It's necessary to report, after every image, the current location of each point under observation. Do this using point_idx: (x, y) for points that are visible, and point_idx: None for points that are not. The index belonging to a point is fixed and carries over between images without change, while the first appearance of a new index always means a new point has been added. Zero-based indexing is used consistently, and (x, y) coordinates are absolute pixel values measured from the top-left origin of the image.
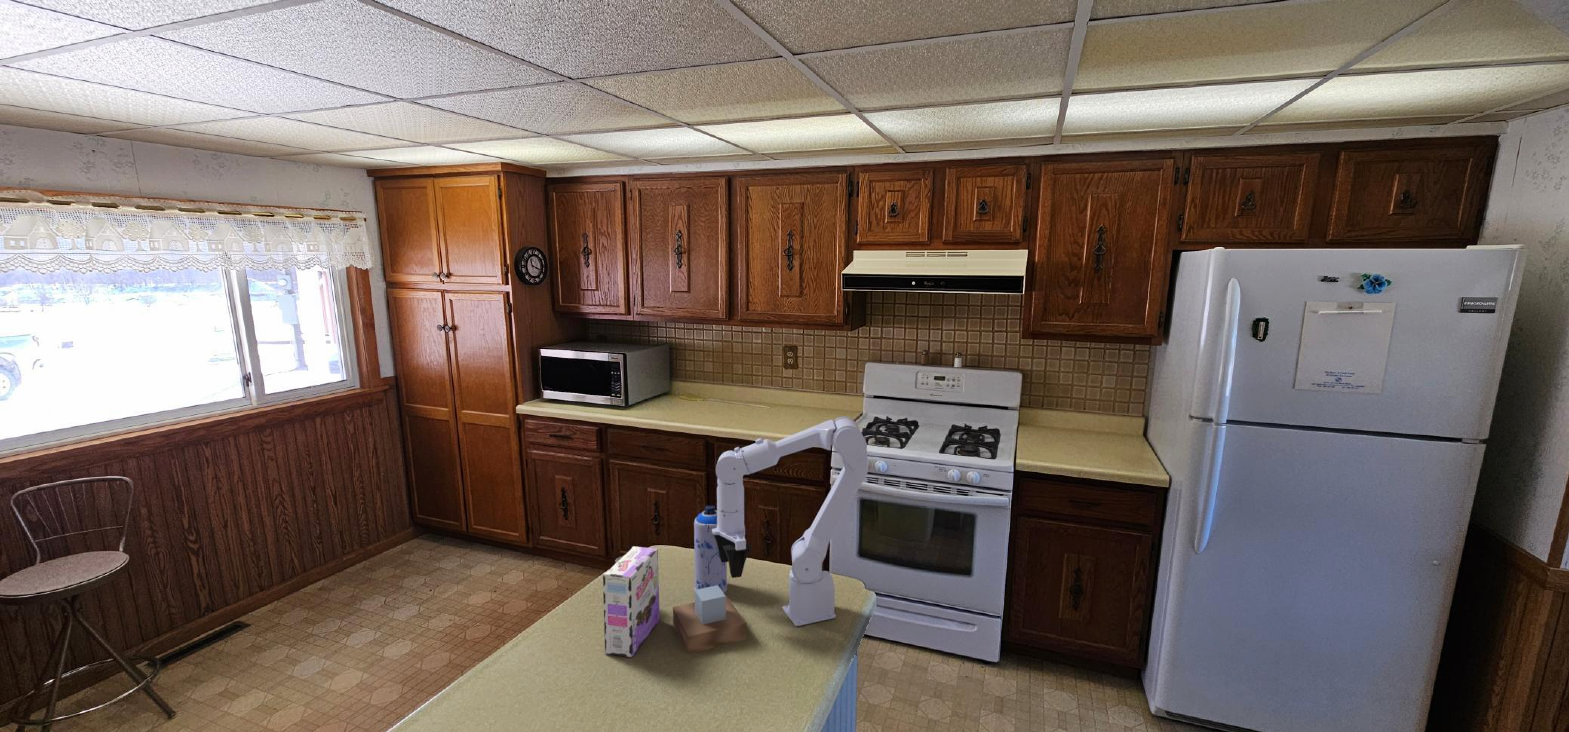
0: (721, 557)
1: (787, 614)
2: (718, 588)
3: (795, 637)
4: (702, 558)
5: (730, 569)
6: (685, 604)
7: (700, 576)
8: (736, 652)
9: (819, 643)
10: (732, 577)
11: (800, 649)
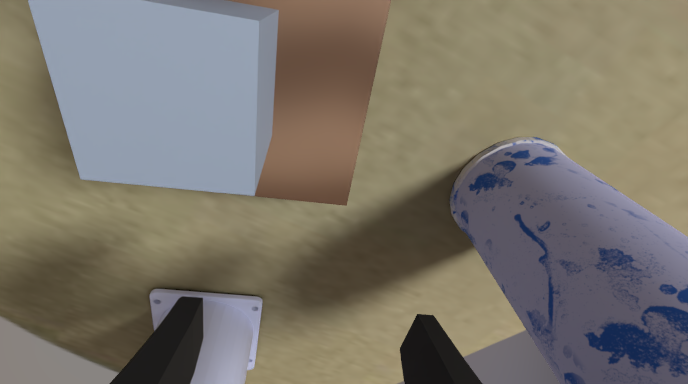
0: (428, 345)
1: (216, 295)
2: (208, 182)
3: (97, 265)
4: (597, 247)
5: (143, 349)
6: (389, 2)
7: (542, 181)
8: (39, 75)
9: (49, 296)
10: (180, 298)
11: (24, 251)
